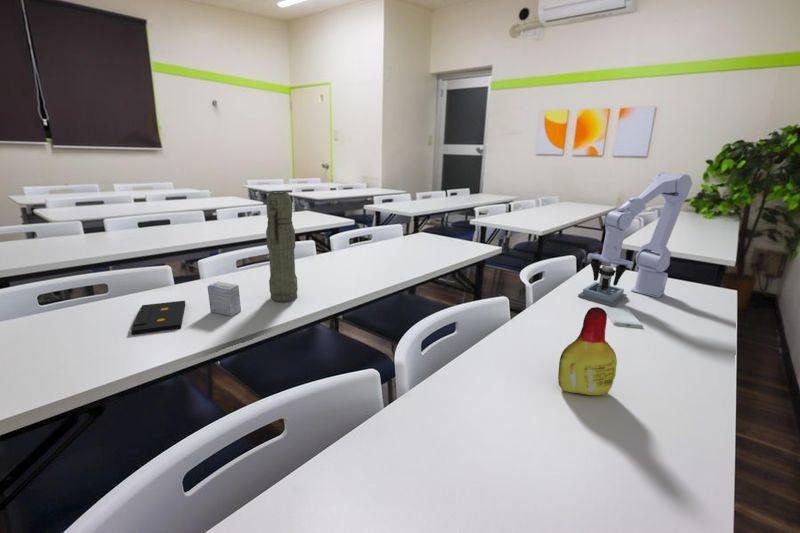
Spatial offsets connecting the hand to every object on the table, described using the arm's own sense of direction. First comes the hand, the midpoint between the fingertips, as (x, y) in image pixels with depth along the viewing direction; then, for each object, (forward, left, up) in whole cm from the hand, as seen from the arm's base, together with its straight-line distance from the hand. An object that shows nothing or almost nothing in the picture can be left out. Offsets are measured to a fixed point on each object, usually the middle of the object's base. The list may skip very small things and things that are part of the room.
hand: (605, 282), depth 143 cm
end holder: (0, 0, -6) cm, 6 cm away
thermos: (+72, +87, -6) cm, 113 cm away
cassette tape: (+80, +122, -6) cm, 146 cm away
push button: (0, -1, -5) cm, 5 cm away
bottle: (-18, +65, -6) cm, 68 cm away
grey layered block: (+73, +106, -6) cm, 129 cm away
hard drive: (-11, +15, -6) cm, 20 cm away
